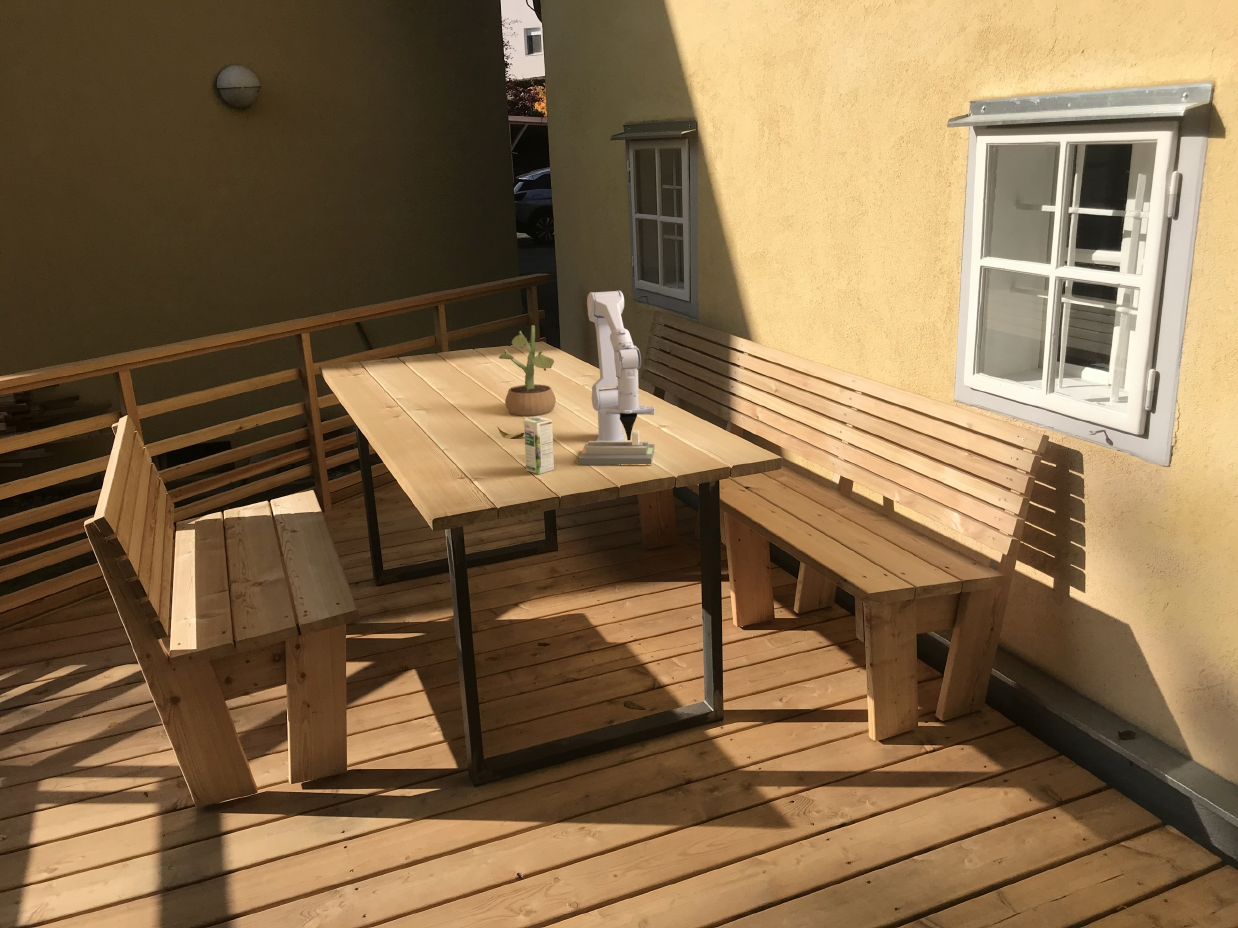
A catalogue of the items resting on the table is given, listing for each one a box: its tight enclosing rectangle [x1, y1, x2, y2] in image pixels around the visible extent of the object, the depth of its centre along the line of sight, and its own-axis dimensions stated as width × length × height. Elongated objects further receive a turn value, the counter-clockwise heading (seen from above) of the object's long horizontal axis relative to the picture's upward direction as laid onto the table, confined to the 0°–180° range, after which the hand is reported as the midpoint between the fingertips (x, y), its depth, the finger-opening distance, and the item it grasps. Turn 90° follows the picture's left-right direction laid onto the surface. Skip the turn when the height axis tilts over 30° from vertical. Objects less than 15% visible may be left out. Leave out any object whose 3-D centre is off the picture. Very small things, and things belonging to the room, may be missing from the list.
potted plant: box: [498, 325, 557, 417], centre depth 326 cm, size 22×18×30 cm
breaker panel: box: [578, 440, 655, 466], centre depth 277 cm, size 14×20×4 cm
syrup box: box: [523, 415, 555, 475], centre depth 267 cm, size 6×6×14 cm
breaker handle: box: [628, 429, 643, 446], centre depth 276 cm, size 3×4×5 cm
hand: (629, 439), depth 276 cm, fingers closed
